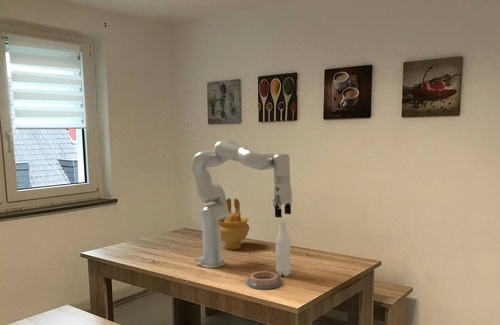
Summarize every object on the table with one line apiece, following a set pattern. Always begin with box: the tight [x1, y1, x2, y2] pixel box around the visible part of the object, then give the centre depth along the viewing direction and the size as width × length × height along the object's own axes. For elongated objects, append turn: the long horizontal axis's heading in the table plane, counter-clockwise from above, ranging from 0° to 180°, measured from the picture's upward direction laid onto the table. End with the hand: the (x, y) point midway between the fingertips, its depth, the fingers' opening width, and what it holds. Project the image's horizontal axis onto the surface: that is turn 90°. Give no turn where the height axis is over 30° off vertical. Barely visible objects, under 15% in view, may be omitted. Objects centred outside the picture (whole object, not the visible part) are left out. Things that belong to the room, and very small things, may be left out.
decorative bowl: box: [218, 197, 250, 250], centre depth 246 cm, size 21×21×30 cm
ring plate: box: [246, 270, 283, 291], centre depth 181 cm, size 16×16×4 cm
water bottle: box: [275, 222, 292, 278], centre depth 191 cm, size 7×7×25 cm
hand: (283, 215), depth 190 cm, fingers open, 9 cm apart
